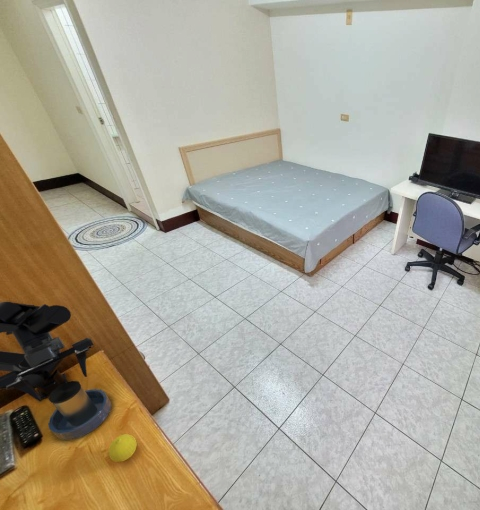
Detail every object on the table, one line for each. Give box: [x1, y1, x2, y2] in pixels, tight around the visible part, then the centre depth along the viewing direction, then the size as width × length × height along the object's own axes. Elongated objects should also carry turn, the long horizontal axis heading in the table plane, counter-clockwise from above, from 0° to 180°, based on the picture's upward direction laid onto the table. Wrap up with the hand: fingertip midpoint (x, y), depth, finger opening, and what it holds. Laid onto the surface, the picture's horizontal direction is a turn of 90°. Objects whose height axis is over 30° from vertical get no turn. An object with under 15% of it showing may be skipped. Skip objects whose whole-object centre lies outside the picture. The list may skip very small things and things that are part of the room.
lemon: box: [108, 433, 138, 463], centre depth 68 cm, size 6×6×8 cm
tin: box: [48, 380, 97, 426], centre depth 74 cm, size 6×6×12 cm
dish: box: [48, 388, 112, 441], centre depth 76 cm, size 12×12×4 cm
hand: (64, 388), depth 72 cm, fingers open, 9 cm apart
